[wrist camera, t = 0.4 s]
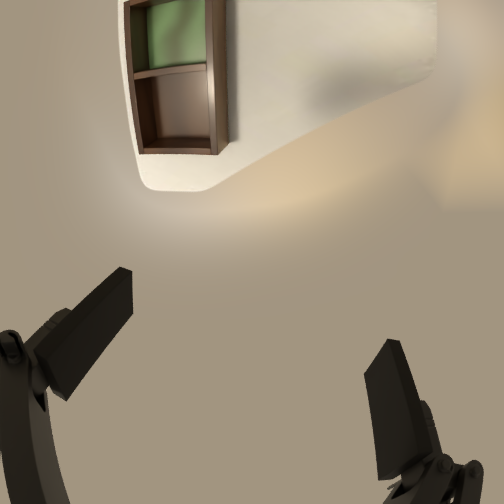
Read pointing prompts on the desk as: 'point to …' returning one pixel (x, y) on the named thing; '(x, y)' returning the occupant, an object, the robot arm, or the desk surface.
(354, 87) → the desk surface
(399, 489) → the robot arm
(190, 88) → the holder
